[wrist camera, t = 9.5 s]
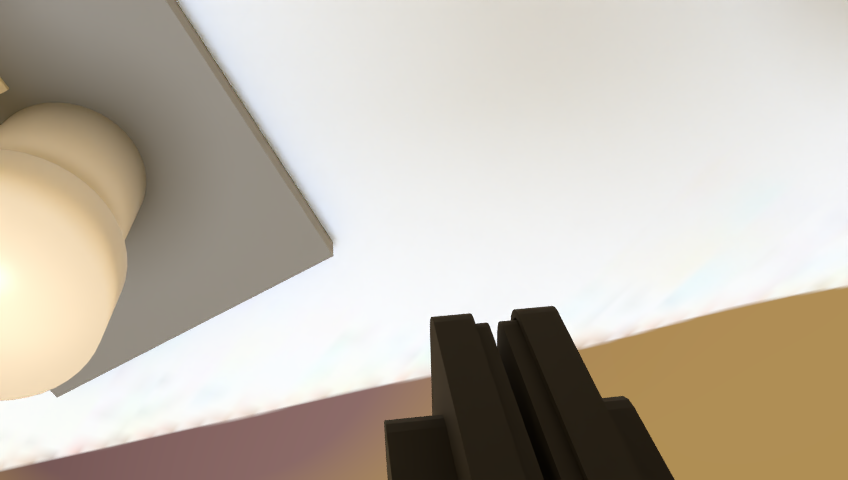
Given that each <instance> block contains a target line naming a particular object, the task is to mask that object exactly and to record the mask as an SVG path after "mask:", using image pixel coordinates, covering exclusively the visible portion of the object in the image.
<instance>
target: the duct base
mask: <svg viewBox="0 0 848 480" xmlns="http://www.w3.org/2000/svg"><path fill="white" fill-rule="evenodd" d="M0 149H1V150H11V151H16V152H22V153H26V154H30V155H33V156H36V157H39V158H42V159H45V160H47V161H49V162H52V163H54V164H56V165H58V166H60V167H62V168H64V169H65V170H67V171H69V172H71V173H72V174H74V175H75V176H76V177H78V178H79V179H81V180H82V181H83V182H85V183H86V184H87V185H88V186H89V187H90V188H91V189H92V190H94V191H95V192H96V193H97V194H98V195H99V197H100V198H101V199H102V200H103V201H104V202H105V204H106V205H107V206H108V208H109V209H110V211H111V212H112V214H113V215H114V217H115V219H116V221H117V223H118V225H119V227H120V229H121V232H122V235H123V238H124V241H125V246H126V251H127V273H126V279H125V282H124V286H123V289H122V291H121V294H120V296H119V299H118V301H117V303H116V306H115V308H114V310H113V313H112V315H111V318H110V320H109V322H108V325H107V327H106V329H105V332H104V334H103V337H102V339H101V341H100V343H99V345H98V347H97V349H96V351H95V353H94V355H93V356H92V357H91V359H90V360H89V362H88V363H87V364H86V365H85V366H84V367H83V368H82V369H81V370H80V371H79V372H78V373H77V374H76V375H74V376H73V377H72V378H70V379H69V380H68V381H66V382H64V383H63V384H61V385H59V386H57V387H56V388H53V389H51V390H50V391H51V392H52V393H53V394H54V395H55V396H56V397H59V396H61V395H63V394H65V393H67V392H69V391H71V390H73V389H75V388H76V387H78V386H80V385H82V384H84V383H86V382H88V381H90V380H92V379H94V378H96V377H98V376H100V375H102V374H104V373H106V372H108V371H110V370H112V369H114V368H116V367H117V366H119V365H121V364H123V363H125V362H127V361H129V360H131V359H133V358H135V357H137V356H139V355H141V354H143V353H145V352H147V351H149V350H151V349H153V348H155V347H156V346H158V345H160V344H162V343H164V342H166V341H168V340H170V339H172V338H174V337H176V336H178V335H180V334H182V333H184V332H186V331H188V330H190V329H192V328H194V327H196V326H197V325H199V324H201V323H203V322H205V321H207V320H209V319H211V318H213V317H215V316H217V315H219V314H221V313H223V312H225V311H227V310H229V309H231V308H233V307H235V306H236V305H238V304H240V303H242V302H244V301H246V300H248V299H250V298H252V297H254V296H256V295H258V294H260V293H262V292H264V291H266V290H268V289H270V288H272V287H274V286H275V285H277V284H279V283H281V282H283V281H285V280H287V279H289V278H291V277H293V276H295V275H297V274H299V273H301V272H303V271H305V270H307V269H309V268H311V267H313V266H315V265H316V264H318V263H320V262H322V261H324V260H326V259H328V258H330V257H332V256H333V242H332V241H331V239H330V238H329V236H328V235H327V233H326V232H325V230H324V228H323V227H322V225H321V224H320V222H319V221H318V219H317V218H316V216H315V215H314V213H313V212H312V210H311V208H310V207H309V205H308V204H307V202H306V201H305V199H304V198H303V196H302V195H301V193H300V192H299V190H298V188H297V187H296V185H295V184H294V182H293V181H292V179H291V178H290V176H289V175H288V173H287V172H286V170H285V168H284V167H283V165H282V164H281V162H280V161H279V159H278V158H277V156H276V155H275V153H274V152H273V150H272V148H271V147H270V145H269V144H268V142H267V141H266V139H265V138H264V136H263V135H262V133H261V132H260V130H259V128H258V127H257V125H256V124H255V122H254V121H253V119H252V118H251V116H250V115H249V113H248V112H247V110H246V108H245V107H244V105H243V104H242V102H241V101H240V99H239V98H238V96H237V95H236V93H235V92H234V90H233V88H232V87H231V85H230V84H229V82H228V81H227V79H226V78H225V76H224V75H223V73H222V72H221V70H220V68H219V67H218V65H217V64H216V62H215V61H214V59H213V58H212V56H211V55H210V53H209V52H208V50H207V48H206V47H205V45H204V44H203V42H202V41H201V39H200V38H199V36H198V35H197V33H196V32H195V30H194V28H193V27H192V25H191V24H190V22H189V21H188V19H187V18H186V16H185V15H184V13H183V12H182V10H181V8H180V7H179V5H178V4H177V2H176V1H175V0H0Z"/></svg>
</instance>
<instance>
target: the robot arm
mask: <svg viewBox="0 0 848 480" xmlns="http://www.w3.org/2000/svg"><path fill="white" fill-rule="evenodd" d="M430 345H431V378H432V379H431V380H432V416H424V417H415V418H404V419H395V420H385V422H384V427H385V445H386V460H387V474H388V480H674V478H673V476H672V474H671V473H670V471H669V469H668V467H667V465H666V464H665V462H664V460H663V458H662V456H661V455H660V453H659V451H658V449H657V447H656V446H655V444H654V442H653V440H652V438H651V437H650V435H649V433H648V431H647V430H646V428H645V426H644V424H643V422H642V420H641V419H640V417H639V415H638V413H637V412H636V410H635V408H634V406H633V405H632V404H631V402H630V401H629V399H627V398H625V397H624V396H619V397H610V398H602V397H601V396H600V394H599V392H598V390H597V388H596V386H595V384H594V382H593V380H592V378H591V376H590V374H589V372H588V370H587V368H586V366H585V364H584V363H583V360H582V358H581V356H580V354H579V352H578V350H577V348H576V346H575V344H574V342H573V340H572V338H571V336H570V334H569V332H568V331H567V329H566V327H565V325H564V323H563V321H562V319H561V317H560V315H559V313H558V311H557V309H556V308H555V307H553V306H548V307H536V308H525V309H514V310H513V311H512V315H511V321H500V322H499V323H498V331H497V346H496V343H495V340H494V337H493V334H492V332H491V329H490V326H489V324H488V323H478V324H475V321H474V318H473V316H472V314H459V315H448V316H437V317H431V319H430Z"/></svg>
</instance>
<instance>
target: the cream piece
mask: <svg viewBox="0 0 848 480" xmlns="http://www.w3.org/2000/svg"><path fill="white" fill-rule="evenodd" d="M126 273H127V251H126V246H125V241H124V238H123V235H122V232H121V229H120V227H119V225H118V223H117V221H116V219H115V217H114V215H113V214H112V212H111V211H110V209H109V208H108V206H107V205H106V204H105V202H104V201H103V200H102V199H101V198H100V197H99V195H98V194H97V193H96V192H95V191H94V190H92V189H91V188H90V187H89V186H88V185H87V184H86V183H85V182H83V181H82V180H81V179H79V178H78V177H76V176H75V175H74V174H72V173H71V172H69V171H67V170H65V169H64V168H62V167H60V166H58V165H56V164H54V163H52V162H49V161H47V160H45V159H42V158H39V157H36V156H33V155H30V154H26V153H22V152H16V151H11V150H1V149H0V401H2V400H14V399H20V398H26V397H30V396H34V395H37V394H41V393H44V392H46V391H48V390H51V389H53V388H56V387H57V386H59V385H61V384H63V383H64V382H66V381H68V380H69V379H70V378H72V377H73V376H74V375H76V374H77V373H78V372H79V371H80V370H81V369H82V368H83V367H84V366H85V365H86V364H87V363H88V362H89V360H90V359H91V357H92V356H93V355H94V353H95V351H96V349H97V347H98V345H99V343H100V341H101V339H102V337H103V334H104V332H105V329H106V327H107V325H108V322H109V320H110V318H111V315H112V313H113V310H114V308H115V306H116V303H117V301H118V299H119V296H120V294H121V291H122V289H123V286H124V282H125V279H126Z"/></svg>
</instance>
